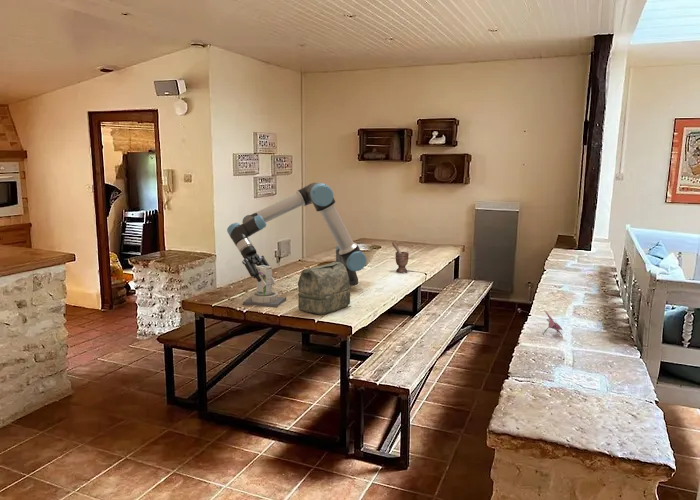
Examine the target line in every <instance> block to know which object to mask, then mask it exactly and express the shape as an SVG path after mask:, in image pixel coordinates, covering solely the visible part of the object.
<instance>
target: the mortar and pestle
mask: <svg viewBox="0 0 700 500" xmlns="http://www.w3.org/2000/svg"><path fill="white" fill-rule="evenodd" d="M391 244H392V246H393V248H394V249H395V251H396V252H395V253H394V254H395V264H396V265H397V267H398V268H396V271H395V272H396V273H399V274H407V273H408V269H407V268H406V266H407V265H408V262H409V257H410V255H409V253H410V252H407V251H401V250H400V248H399V246H398V244H397V241H395V240H394V241H392V242H391Z"/></svg>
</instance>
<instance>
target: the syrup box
mask: <svg viewBox="0 0 700 500" xmlns="http://www.w3.org/2000/svg"><path fill="white" fill-rule="evenodd" d="M256 268H257V271H258V275H259V274H260V275H261V276H262V278H263V280H264V281H265V283H266V286H265V287H264V288H263V287H262V286H261V284H260V283H259V282H258V281H257V280H256V292H257V294H259V295H264V296H266V295H269V294H272V291H273V285H272V276H273V266H270V265H269V266H265V265H260V266H257V265H256Z"/></svg>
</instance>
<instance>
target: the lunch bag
mask: <svg viewBox="0 0 700 500" xmlns="http://www.w3.org/2000/svg"><path fill="white" fill-rule="evenodd" d="M297 289H298V293H297V294H298V295H297V296H298V297H297V298H298V303H297V304H298V306H297V307H298V310H299V311H301V312H307V313H311V314H316V315H320V316H321V315H326V314H329V313H332V312H334V311H335V312H336V311H339V310H340V309H342V308H346V307H348V306H350V305H351V285H350V283H349V277H348V273H347V270H346V267H345V266H344V264H342V263H341V262H336V261H333V262H330V263H327V264H322V265H317V266H315V267H307V268H303V269H302V270H301V272H300V275H299V279H298V282H297Z"/></svg>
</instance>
